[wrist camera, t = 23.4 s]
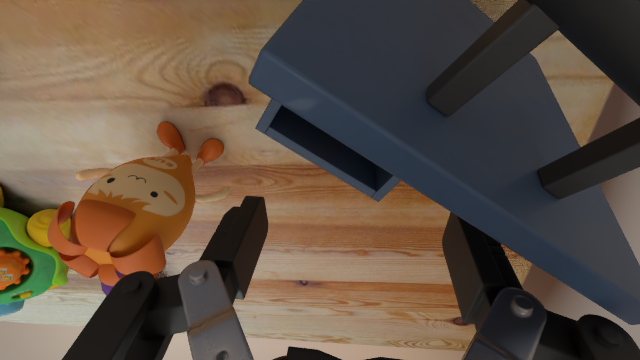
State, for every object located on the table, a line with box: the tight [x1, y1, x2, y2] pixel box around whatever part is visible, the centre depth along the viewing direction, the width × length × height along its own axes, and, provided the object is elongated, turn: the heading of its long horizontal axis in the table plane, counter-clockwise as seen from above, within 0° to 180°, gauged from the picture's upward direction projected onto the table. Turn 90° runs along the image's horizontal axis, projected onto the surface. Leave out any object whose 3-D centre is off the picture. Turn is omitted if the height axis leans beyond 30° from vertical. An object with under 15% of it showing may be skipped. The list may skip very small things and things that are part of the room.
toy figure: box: [47, 122, 230, 286], centre depth 27 cm, size 12×8×15 cm, turn 71°
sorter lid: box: [249, 0, 640, 325], centre depth 10 cm, size 14×12×5 cm
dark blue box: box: [256, 99, 401, 202], centre depth 23 cm, size 14×12×7 cm
